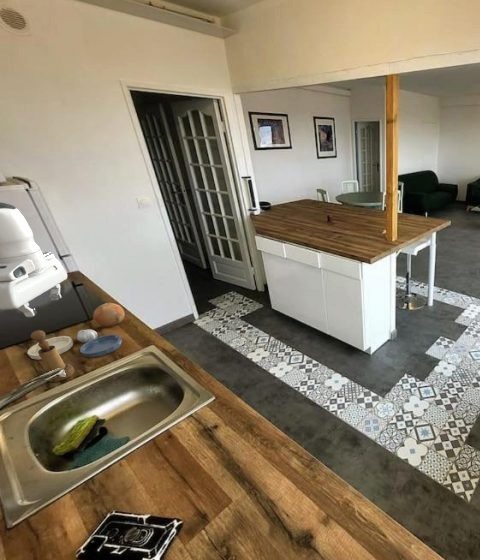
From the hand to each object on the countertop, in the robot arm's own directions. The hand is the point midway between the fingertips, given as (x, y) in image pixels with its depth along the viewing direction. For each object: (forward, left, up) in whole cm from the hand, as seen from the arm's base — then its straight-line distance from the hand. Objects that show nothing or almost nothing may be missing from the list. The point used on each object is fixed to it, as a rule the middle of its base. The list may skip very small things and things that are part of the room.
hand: (45, 307), depth 89 cm
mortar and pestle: (-2, +11, -29) cm, 31 cm away
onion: (+22, +30, -29) cm, 47 cm away
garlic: (+12, +26, -29) cm, 40 cm away
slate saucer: (+12, +16, -29) cm, 35 cm away
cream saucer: (+3, +31, -29) cm, 42 cm away
